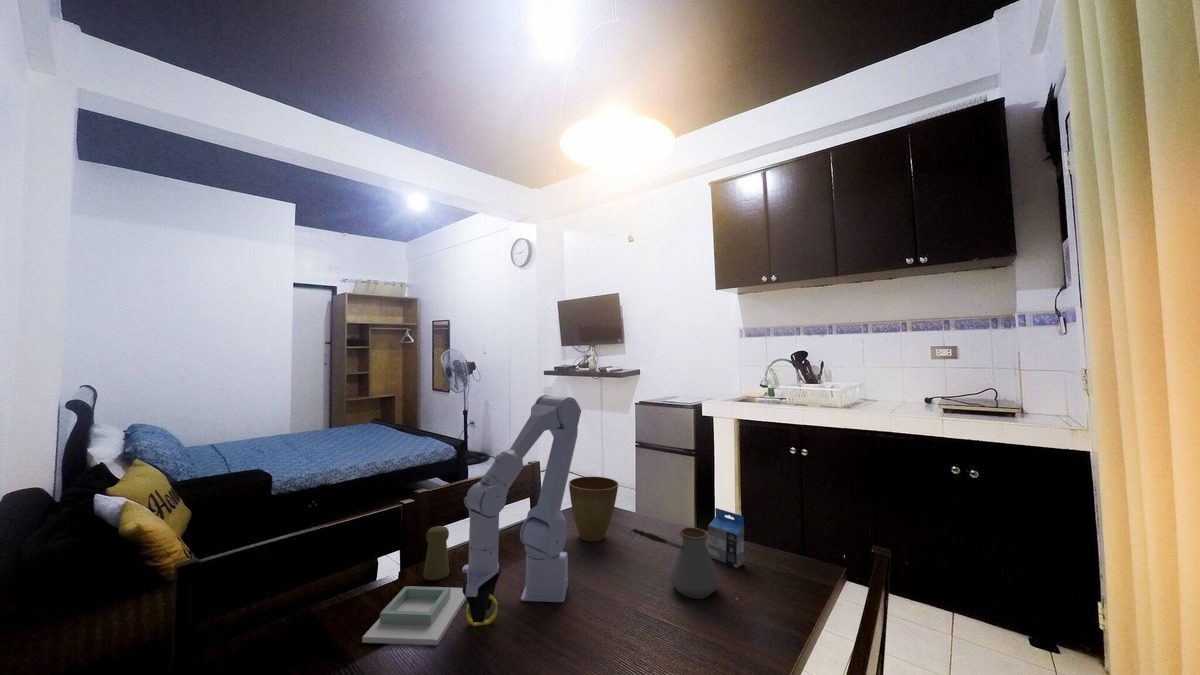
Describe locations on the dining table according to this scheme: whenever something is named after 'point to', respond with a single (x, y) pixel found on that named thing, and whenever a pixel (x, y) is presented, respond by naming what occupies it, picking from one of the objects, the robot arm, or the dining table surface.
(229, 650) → the dining table surface
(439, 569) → the olive pawn shaped peg
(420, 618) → the pocket plate
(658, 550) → the dining table surface
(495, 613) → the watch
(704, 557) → the coffee pot
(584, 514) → the plant pot
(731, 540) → the label tape box
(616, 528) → the dining table surface
